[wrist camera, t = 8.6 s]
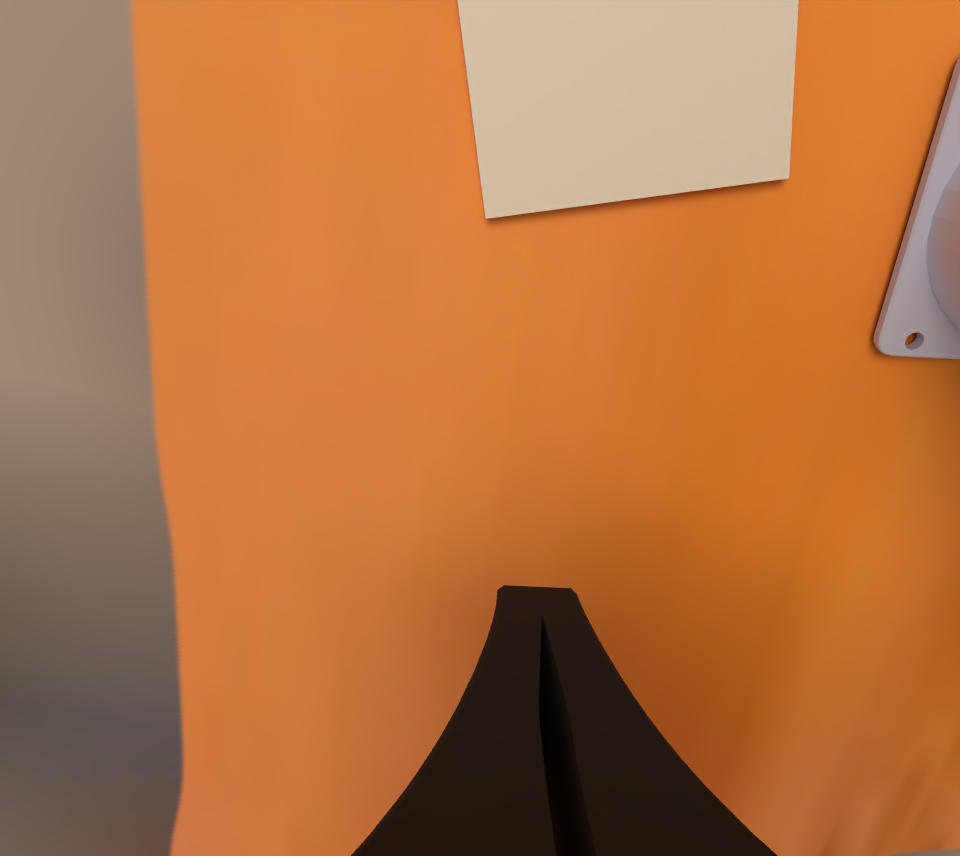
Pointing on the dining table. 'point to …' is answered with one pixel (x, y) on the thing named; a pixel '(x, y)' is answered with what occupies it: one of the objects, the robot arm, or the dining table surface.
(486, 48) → the napkin
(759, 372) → the dining table surface
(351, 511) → the dining table surface
